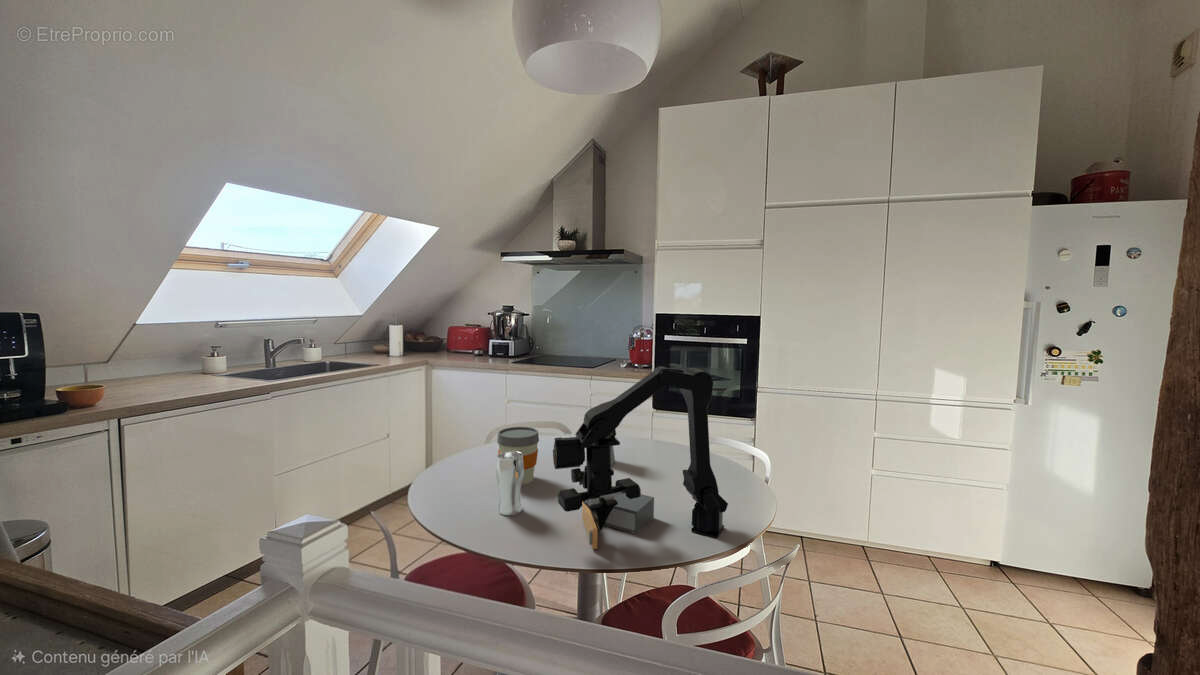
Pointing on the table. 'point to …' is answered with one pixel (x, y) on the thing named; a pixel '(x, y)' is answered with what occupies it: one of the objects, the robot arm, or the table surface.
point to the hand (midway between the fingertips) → (600, 529)
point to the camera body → (630, 513)
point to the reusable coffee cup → (521, 447)
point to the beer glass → (510, 481)
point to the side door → (589, 526)
